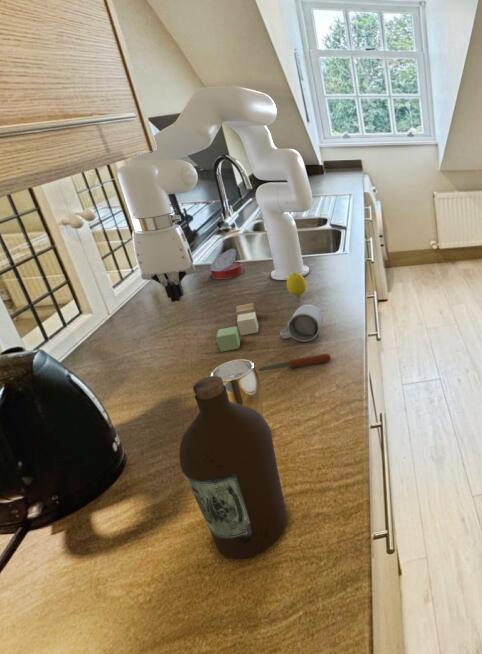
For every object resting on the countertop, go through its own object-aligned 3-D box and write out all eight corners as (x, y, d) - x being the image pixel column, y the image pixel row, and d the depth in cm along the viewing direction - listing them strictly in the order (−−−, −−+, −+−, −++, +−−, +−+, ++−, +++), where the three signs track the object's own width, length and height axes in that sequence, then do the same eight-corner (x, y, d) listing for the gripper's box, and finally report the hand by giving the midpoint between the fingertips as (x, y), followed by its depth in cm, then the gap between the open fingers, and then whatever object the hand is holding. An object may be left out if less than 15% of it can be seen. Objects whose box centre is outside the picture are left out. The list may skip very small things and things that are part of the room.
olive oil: (241, 494, 70) (198, 356, 60) (305, 502, 69) (271, 361, 59) (193, 559, 61) (133, 407, 51) (266, 569, 59) (218, 414, 49)
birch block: (240, 319, 127) (236, 305, 125) (256, 316, 128) (253, 302, 127) (239, 325, 123) (236, 311, 122) (256, 322, 125) (253, 308, 123)
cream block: (241, 328, 122) (238, 314, 120) (258, 325, 123) (255, 311, 121) (240, 335, 118) (236, 321, 116) (257, 332, 119) (254, 318, 118)
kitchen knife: (331, 359, 106) (329, 351, 105) (331, 362, 105) (330, 354, 104) (259, 372, 102) (257, 364, 101) (258, 375, 100) (256, 368, 100)
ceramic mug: (325, 325, 121) (320, 299, 118) (321, 340, 114) (316, 313, 111) (285, 330, 120) (278, 303, 117) (278, 345, 113) (271, 318, 110)
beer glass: (225, 440, 82) (203, 370, 76) (263, 421, 86) (245, 353, 80) (239, 460, 77) (217, 387, 71) (279, 439, 81) (261, 368, 75)
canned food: (242, 287, 161) (237, 268, 154) (211, 288, 158) (204, 268, 151) (245, 263, 168) (240, 244, 160) (215, 264, 165) (209, 244, 158)
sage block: (222, 344, 114) (218, 329, 113) (240, 340, 116) (236, 326, 114) (220, 352, 111) (216, 337, 109) (239, 348, 112) (235, 333, 110)
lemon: (310, 293, 142) (306, 269, 139) (303, 300, 137) (298, 276, 134) (294, 292, 143) (289, 269, 140) (286, 300, 138) (280, 276, 134)
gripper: (195, 215, 104) (214, 288, 112) (119, 223, 100) (144, 298, 107) (189, 222, 98) (210, 299, 105) (107, 231, 93) (135, 311, 100)
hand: (177, 299), depth 106 cm, fingers closed
